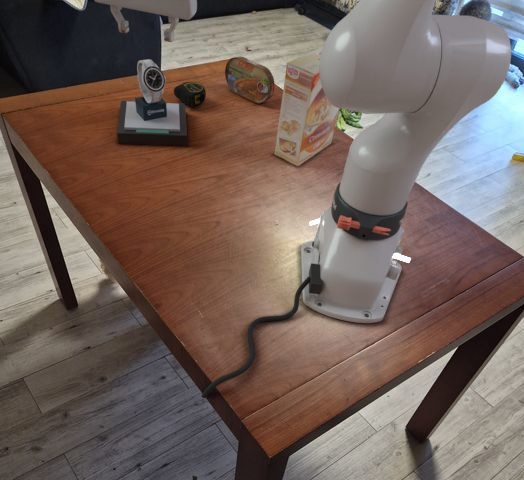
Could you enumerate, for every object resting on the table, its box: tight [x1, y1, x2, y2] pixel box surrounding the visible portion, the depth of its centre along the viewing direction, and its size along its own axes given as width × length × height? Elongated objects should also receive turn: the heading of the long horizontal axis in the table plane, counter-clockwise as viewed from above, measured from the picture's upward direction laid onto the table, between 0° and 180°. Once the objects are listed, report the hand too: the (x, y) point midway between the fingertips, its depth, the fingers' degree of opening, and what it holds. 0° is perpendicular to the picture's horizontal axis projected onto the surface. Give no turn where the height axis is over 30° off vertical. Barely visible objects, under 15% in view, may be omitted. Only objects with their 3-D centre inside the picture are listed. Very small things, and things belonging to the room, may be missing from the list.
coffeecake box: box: [273, 46, 340, 167], centre depth 103 cm, size 15×7×20 cm, turn 143°
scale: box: [116, 100, 188, 147], centre depth 108 cm, size 15×15×3 cm
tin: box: [224, 56, 275, 104], centre depth 121 cm, size 15×3×8 cm, turn 50°
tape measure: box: [173, 81, 207, 108], centre depth 117 cm, size 7×7×4 cm
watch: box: [134, 58, 167, 121], centre depth 102 cm, size 6×8×11 cm
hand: (146, 36), depth 94 cm, fingers open, 8 cm apart
